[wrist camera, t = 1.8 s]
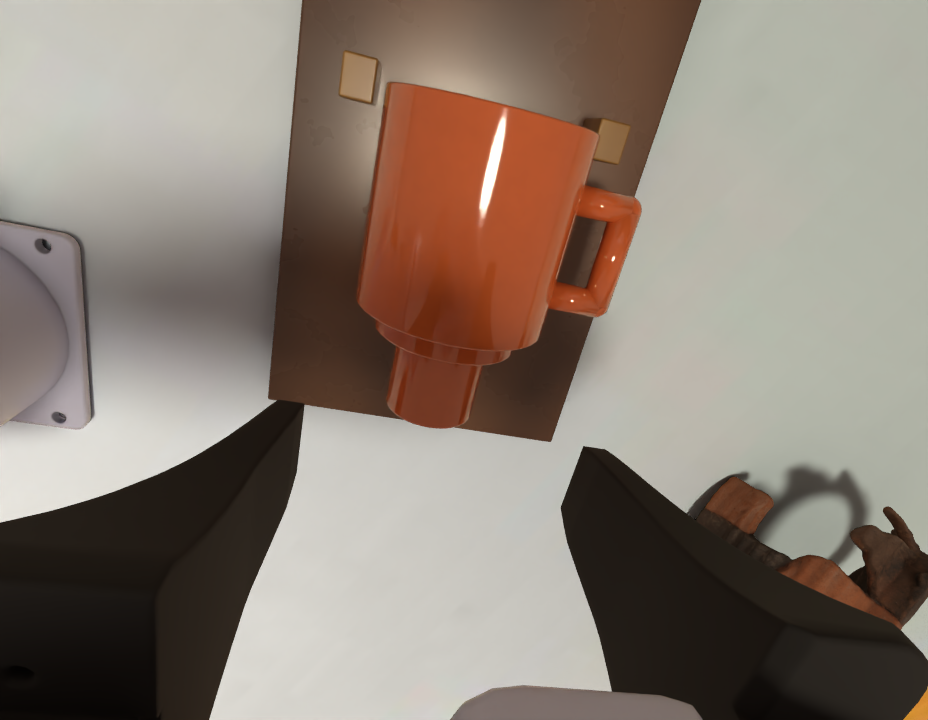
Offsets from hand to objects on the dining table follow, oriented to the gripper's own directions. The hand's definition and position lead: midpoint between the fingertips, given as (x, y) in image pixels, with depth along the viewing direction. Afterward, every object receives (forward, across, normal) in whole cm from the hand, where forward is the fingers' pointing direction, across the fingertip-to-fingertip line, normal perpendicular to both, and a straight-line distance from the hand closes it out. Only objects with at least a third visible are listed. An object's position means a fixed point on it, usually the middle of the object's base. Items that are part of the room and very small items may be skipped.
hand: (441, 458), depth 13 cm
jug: (+5, -1, -8) cm, 10 cm away
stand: (+9, 0, -6) cm, 11 cm away
